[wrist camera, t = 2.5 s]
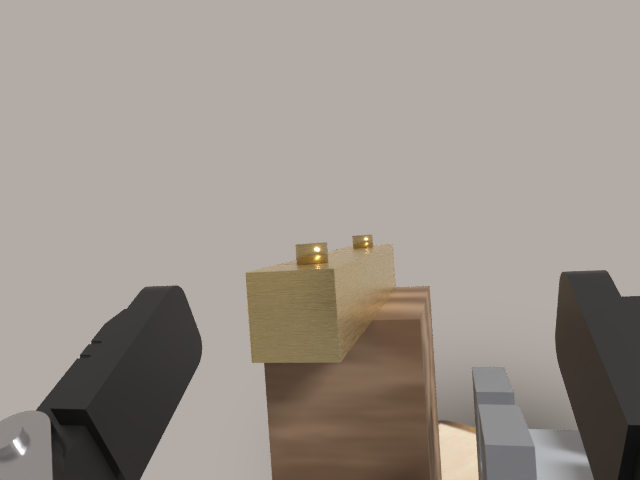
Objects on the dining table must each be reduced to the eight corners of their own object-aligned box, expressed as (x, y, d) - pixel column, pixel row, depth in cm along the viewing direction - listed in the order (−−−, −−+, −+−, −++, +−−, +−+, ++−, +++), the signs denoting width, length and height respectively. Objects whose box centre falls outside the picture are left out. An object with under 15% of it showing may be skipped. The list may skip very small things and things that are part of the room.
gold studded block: (351, 291, 46) (347, 235, 46) (395, 289, 45) (392, 232, 45) (251, 362, 23) (244, 249, 22) (340, 362, 22) (332, 244, 22)
